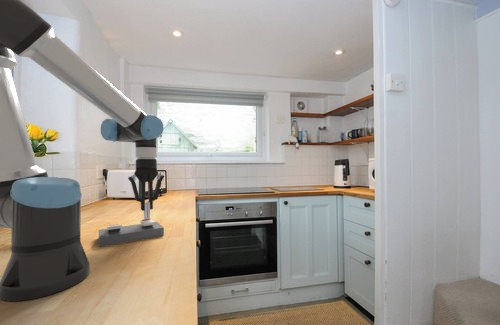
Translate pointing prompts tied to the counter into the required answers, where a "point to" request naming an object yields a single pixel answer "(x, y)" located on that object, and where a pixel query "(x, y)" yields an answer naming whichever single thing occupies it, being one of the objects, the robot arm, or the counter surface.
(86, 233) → the counter surface
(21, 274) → the robot arm
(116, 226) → the left rocker
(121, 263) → the counter surface
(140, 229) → the power strip
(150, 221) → the right rocker
